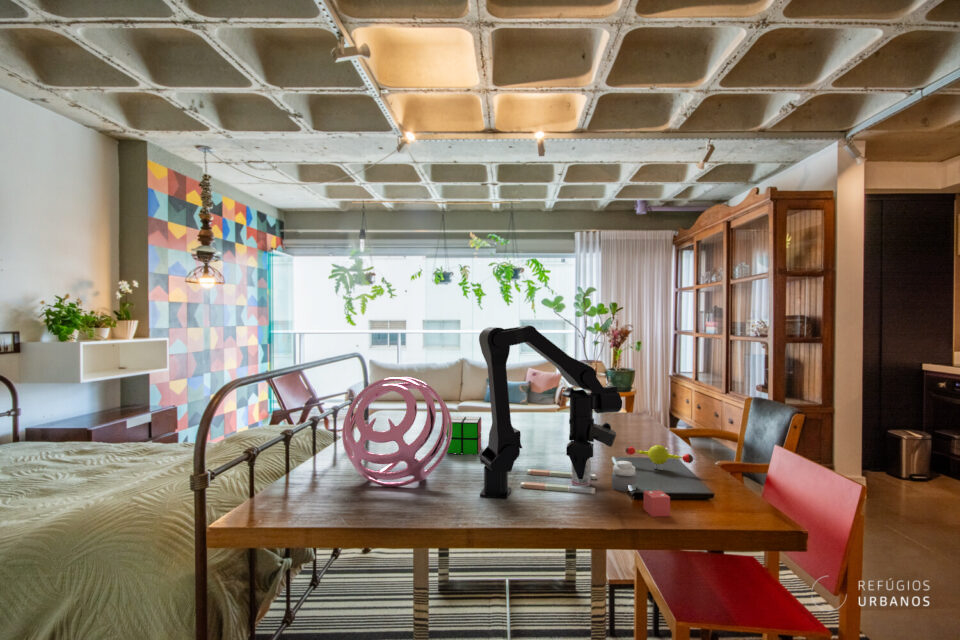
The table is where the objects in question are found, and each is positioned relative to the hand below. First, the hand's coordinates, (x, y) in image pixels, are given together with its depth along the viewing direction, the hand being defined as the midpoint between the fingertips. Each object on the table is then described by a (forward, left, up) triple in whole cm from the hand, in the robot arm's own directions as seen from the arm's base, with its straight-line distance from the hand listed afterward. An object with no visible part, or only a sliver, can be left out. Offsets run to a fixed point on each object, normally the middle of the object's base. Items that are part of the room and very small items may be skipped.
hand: (581, 476), depth 123 cm
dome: (0, -10, +2) cm, 11 cm away
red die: (-15, -17, -2) cm, 22 cm away
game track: (0, 0, -2) cm, 2 cm away
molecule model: (+18, -21, -2) cm, 27 cm away
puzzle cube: (+24, +37, -2) cm, 45 cm away
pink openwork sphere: (-10, +46, -2) cm, 48 cm away
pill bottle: (0, 0, -2) cm, 2 cm away
